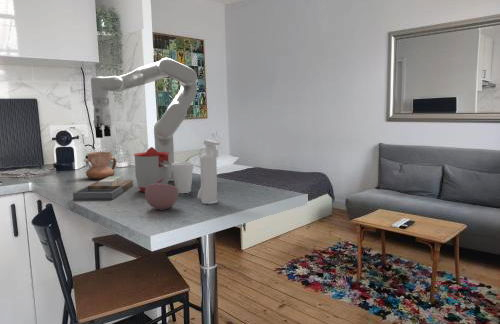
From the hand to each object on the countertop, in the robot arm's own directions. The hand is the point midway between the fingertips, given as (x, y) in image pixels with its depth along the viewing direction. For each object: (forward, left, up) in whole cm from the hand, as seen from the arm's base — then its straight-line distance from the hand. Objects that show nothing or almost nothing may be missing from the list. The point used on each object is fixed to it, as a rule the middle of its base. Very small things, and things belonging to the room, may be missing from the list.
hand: (103, 137), depth 188 cm
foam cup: (-43, +24, -24) cm, 55 cm away
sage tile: (-8, +12, -20) cm, 25 cm away
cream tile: (-8, +19, -20) cm, 29 cm away
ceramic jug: (+8, -14, -24) cm, 29 cm away
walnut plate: (-8, +16, -23) cm, 29 cm away
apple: (-40, +52, -24) cm, 70 cm away
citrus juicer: (-29, +19, -24) cm, 42 cm away
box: (-8, +30, -23) cm, 39 cm away
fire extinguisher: (-56, +42, -24) cm, 74 cm away
